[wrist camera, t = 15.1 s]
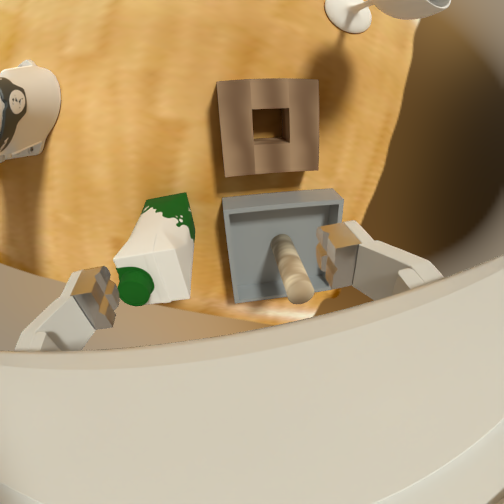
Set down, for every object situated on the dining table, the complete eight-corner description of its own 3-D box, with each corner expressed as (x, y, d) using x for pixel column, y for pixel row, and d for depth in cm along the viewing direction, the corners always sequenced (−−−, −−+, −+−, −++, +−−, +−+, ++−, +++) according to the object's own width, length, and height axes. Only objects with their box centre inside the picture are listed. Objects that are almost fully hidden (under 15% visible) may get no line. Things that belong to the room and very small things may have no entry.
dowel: (276, 255, 52) (293, 307, 40) (266, 240, 50) (283, 291, 38) (294, 246, 51) (317, 296, 40) (286, 230, 49) (308, 279, 38)
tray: (232, 286, 56) (234, 303, 52) (222, 197, 45) (223, 210, 41) (323, 274, 58) (331, 289, 53) (332, 188, 47) (343, 199, 42)
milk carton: (140, 195, 43) (101, 266, 26) (191, 186, 43) (178, 254, 27) (153, 239, 48) (129, 321, 31) (200, 231, 48) (196, 314, 32)
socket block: (224, 167, 42) (225, 177, 38) (216, 83, 34) (216, 81, 30) (308, 161, 43) (318, 170, 39) (307, 80, 36) (318, 79, 31)
